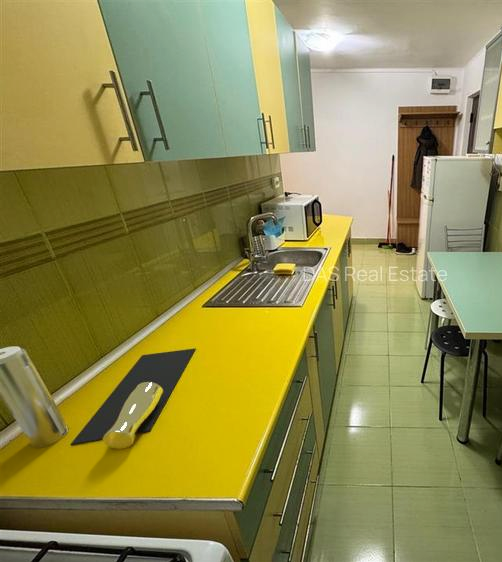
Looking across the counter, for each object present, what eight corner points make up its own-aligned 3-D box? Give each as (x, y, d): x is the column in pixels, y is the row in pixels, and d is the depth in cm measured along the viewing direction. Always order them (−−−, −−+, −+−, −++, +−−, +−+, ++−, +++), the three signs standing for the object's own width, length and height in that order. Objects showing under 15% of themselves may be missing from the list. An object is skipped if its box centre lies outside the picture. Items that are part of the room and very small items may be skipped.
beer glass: (101, 428, 68) (137, 378, 81) (98, 448, 70) (133, 396, 83) (137, 433, 70) (166, 384, 83) (133, 452, 73) (161, 401, 86)
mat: (70, 445, 73) (70, 444, 72) (142, 355, 105) (142, 354, 105) (150, 431, 76) (149, 430, 76) (196, 349, 108) (195, 348, 108)
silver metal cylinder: (41, 451, 71) (-13, 365, 61) (26, 443, 73) (-29, 358, 63) (75, 429, 77) (30, 347, 67) (59, 423, 79) (13, 342, 69)
